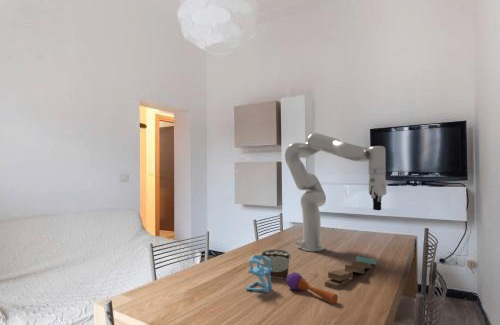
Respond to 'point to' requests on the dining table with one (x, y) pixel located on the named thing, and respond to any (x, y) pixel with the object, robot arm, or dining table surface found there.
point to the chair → (260, 273)
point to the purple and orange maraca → (309, 287)
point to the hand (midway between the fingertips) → (377, 209)
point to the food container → (277, 262)
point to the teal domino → (365, 260)
